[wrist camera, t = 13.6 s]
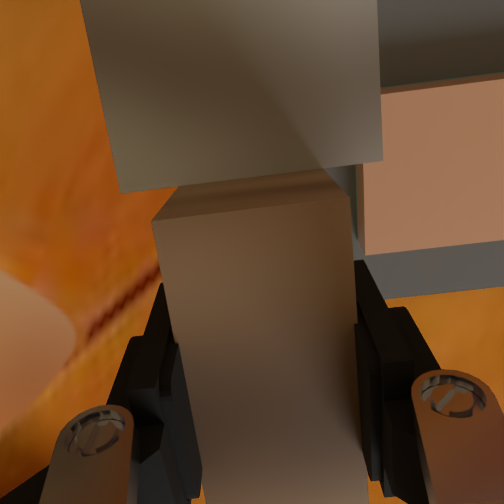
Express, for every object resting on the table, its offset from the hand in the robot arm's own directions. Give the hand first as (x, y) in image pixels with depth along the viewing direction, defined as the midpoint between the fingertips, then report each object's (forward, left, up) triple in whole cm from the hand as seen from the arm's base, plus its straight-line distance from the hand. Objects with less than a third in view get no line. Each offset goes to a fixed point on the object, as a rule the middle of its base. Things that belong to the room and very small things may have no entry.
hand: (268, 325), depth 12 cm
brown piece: (0, +2, -2) cm, 2 cm away
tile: (+10, -5, -13) cm, 17 cm away
